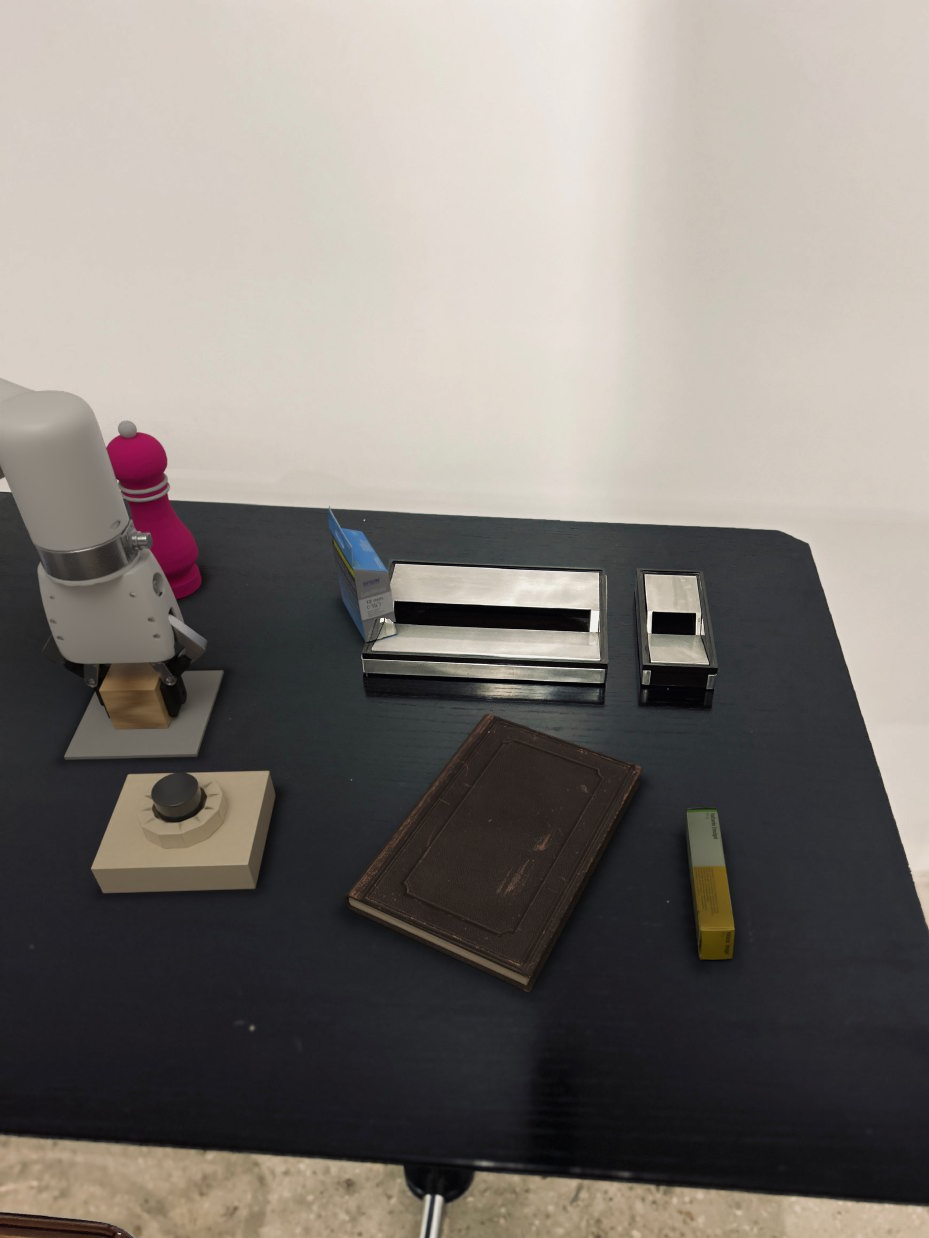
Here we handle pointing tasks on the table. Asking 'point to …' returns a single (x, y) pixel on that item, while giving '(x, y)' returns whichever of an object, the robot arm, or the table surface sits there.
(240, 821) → the dial knob box
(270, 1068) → the table surface
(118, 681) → the block
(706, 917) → the medication box
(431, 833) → the hardcover book
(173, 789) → the button
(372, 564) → the label tape box
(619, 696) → the table surface
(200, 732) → the pad
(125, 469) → the pepper mill
